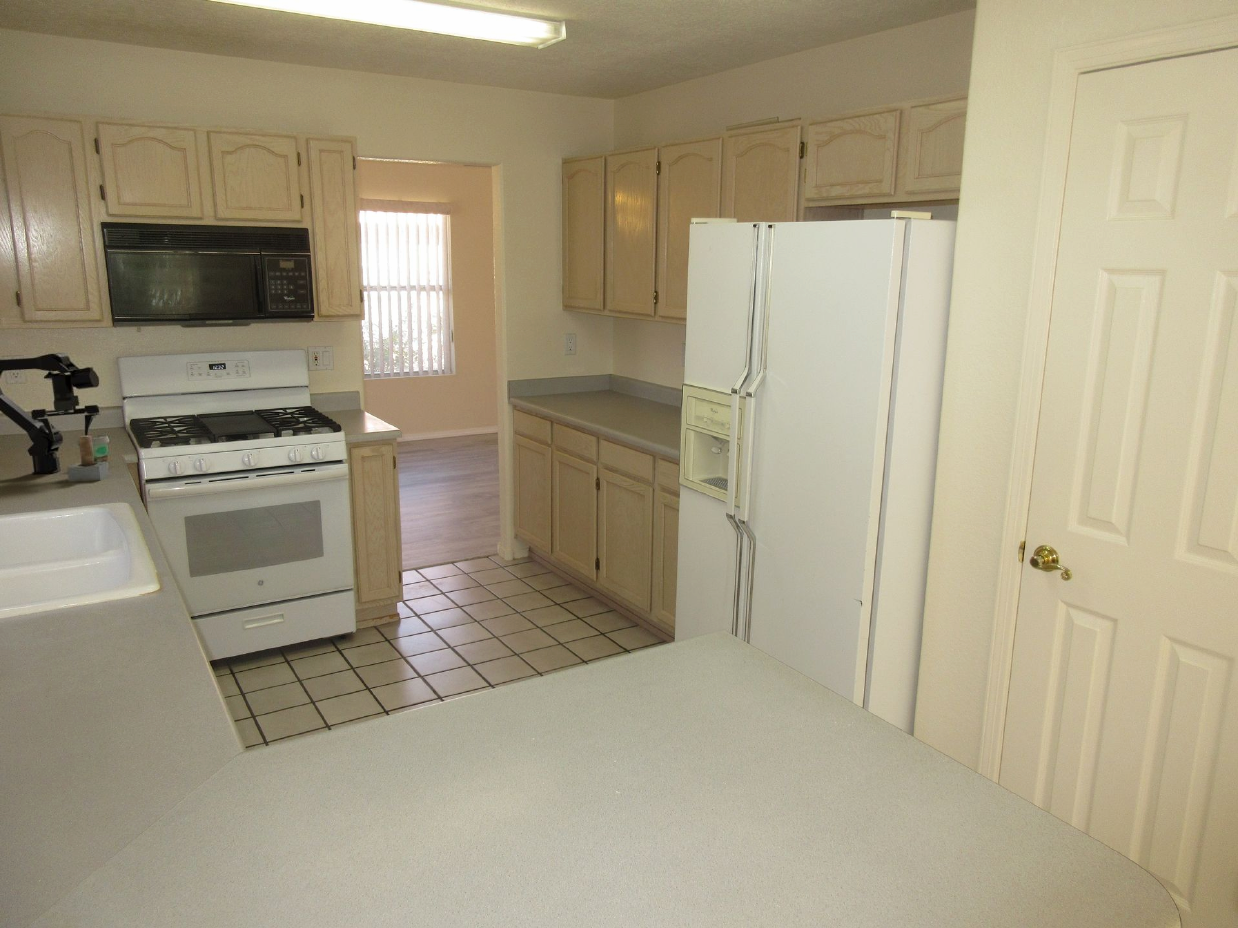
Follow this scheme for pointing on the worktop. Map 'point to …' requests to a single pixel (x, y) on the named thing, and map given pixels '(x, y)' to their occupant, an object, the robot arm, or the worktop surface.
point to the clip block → (88, 471)
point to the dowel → (86, 450)
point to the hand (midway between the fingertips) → (70, 438)
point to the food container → (100, 448)
